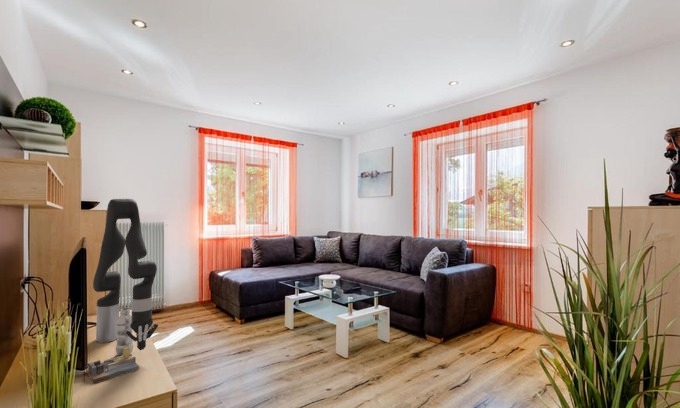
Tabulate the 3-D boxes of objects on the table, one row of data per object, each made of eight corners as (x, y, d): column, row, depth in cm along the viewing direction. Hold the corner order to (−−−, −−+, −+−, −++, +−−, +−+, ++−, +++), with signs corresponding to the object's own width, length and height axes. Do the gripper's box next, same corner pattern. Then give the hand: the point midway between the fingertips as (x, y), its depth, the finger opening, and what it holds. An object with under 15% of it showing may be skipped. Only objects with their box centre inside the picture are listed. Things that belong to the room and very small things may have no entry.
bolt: (112, 364, 136) (112, 349, 136) (129, 359, 141) (129, 345, 141) (114, 367, 134) (114, 351, 134) (131, 362, 139) (131, 347, 139)
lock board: (84, 371, 134) (84, 360, 134) (127, 358, 145) (127, 348, 145) (93, 383, 125) (94, 371, 125) (138, 369, 136) (139, 358, 136)
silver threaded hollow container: (124, 358, 146) (125, 311, 146) (111, 356, 147) (112, 310, 148) (136, 352, 152) (137, 307, 153) (124, 350, 154) (124, 306, 154)
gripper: (155, 303, 151) (154, 342, 150) (121, 310, 141) (120, 351, 140) (161, 306, 146) (161, 347, 145) (127, 313, 136) (126, 356, 135)
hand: (141, 349), depth 143 cm, fingers closed
